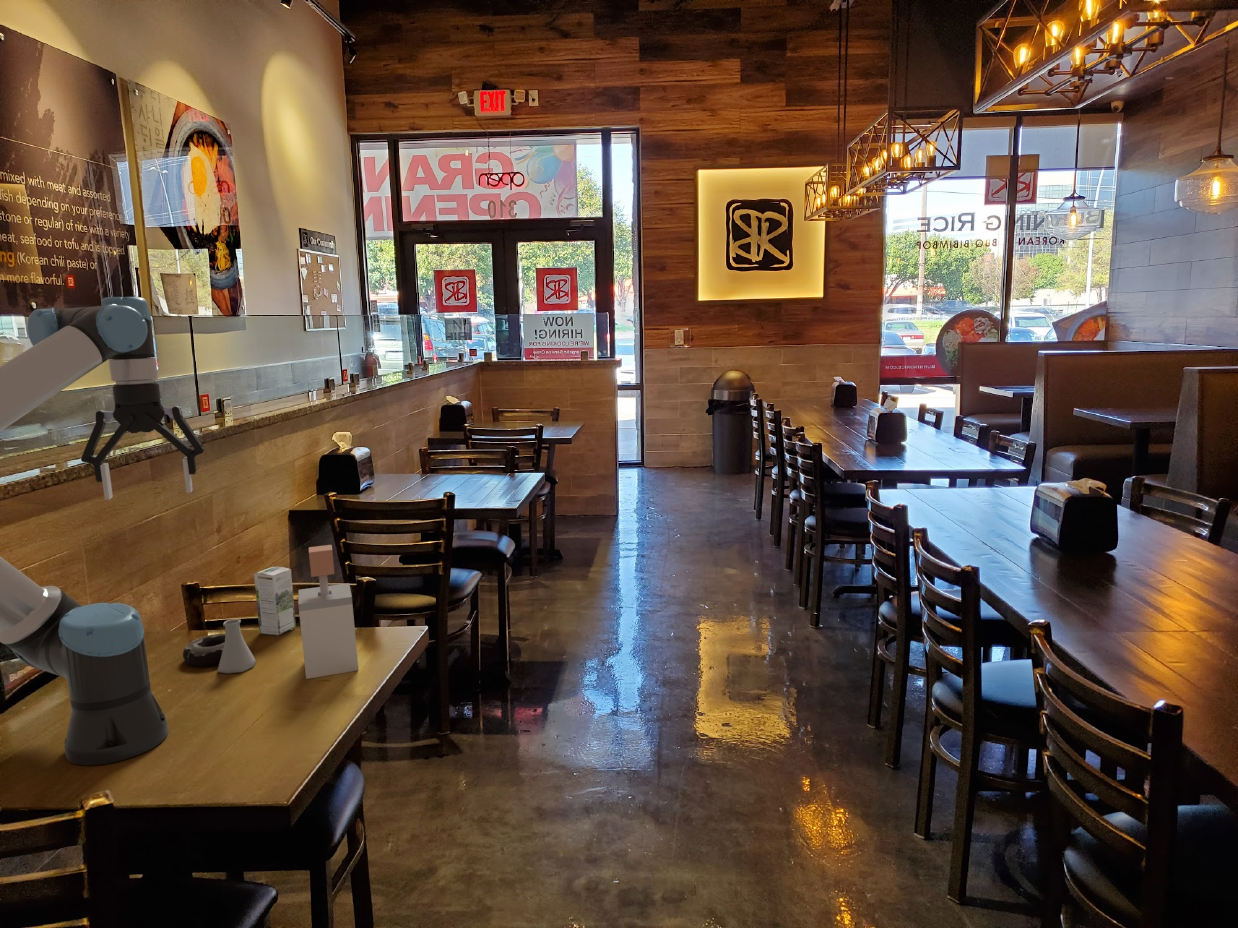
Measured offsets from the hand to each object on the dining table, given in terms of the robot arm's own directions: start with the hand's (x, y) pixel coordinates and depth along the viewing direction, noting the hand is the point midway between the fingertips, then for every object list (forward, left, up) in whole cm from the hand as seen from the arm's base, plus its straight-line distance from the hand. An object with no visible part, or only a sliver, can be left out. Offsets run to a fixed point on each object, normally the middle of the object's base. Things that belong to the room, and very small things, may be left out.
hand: (149, 495), depth 161 cm
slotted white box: (+18, -23, -39) cm, 48 cm away
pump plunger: (+18, -23, -34) cm, 45 cm away
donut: (+15, +5, -39) cm, 42 cm away
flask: (+12, -4, -39) cm, 41 cm away
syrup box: (+32, +3, -39) cm, 50 cm away
